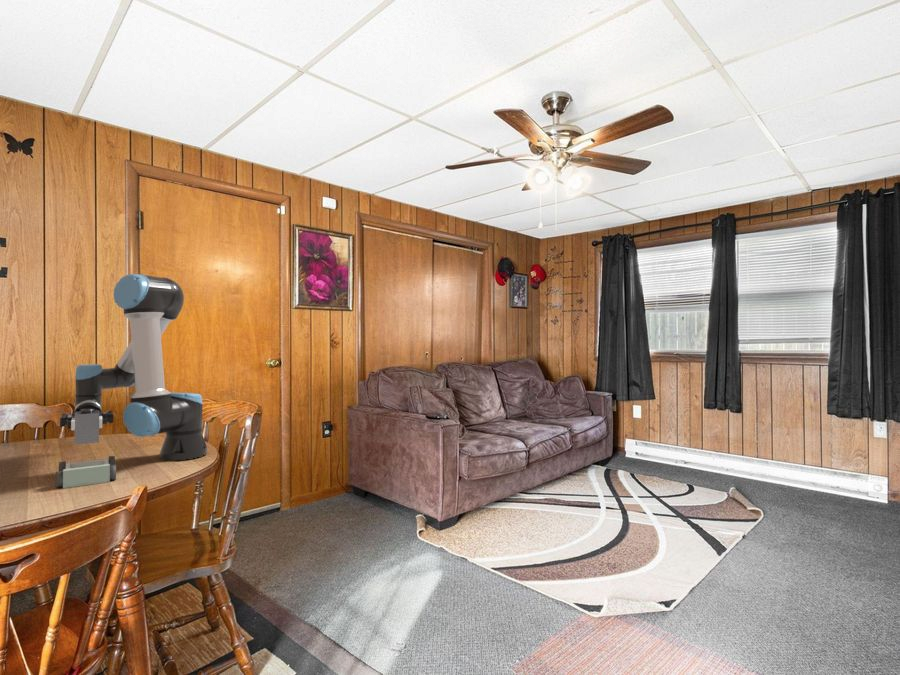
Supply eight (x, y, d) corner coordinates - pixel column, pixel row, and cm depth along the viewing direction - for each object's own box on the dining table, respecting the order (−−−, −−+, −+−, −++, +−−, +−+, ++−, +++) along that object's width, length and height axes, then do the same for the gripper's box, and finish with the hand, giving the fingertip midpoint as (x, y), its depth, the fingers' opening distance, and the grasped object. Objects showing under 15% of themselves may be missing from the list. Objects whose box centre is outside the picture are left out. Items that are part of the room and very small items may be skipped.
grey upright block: (75, 440, 150) (75, 408, 150) (98, 438, 154) (99, 406, 154) (74, 444, 145) (74, 411, 145) (99, 442, 149) (99, 409, 149)
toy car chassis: (59, 474, 152) (59, 458, 152) (114, 467, 161) (114, 452, 161) (55, 489, 139) (55, 471, 138) (116, 481, 147) (116, 464, 147)
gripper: (121, 421, 170) (125, 433, 151) (51, 426, 158) (45, 440, 140) (122, 400, 169) (125, 409, 151) (51, 403, 158) (45, 414, 140)
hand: (87, 424), depth 145 cm, fingers closed on grey upright block, 6 cm apart
